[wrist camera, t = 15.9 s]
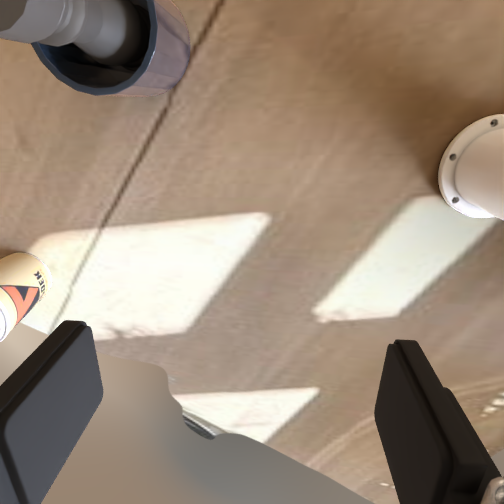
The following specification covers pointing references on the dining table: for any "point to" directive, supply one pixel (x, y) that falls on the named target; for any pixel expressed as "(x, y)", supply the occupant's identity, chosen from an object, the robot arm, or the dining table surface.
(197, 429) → the dining table surface
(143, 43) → the candle holder
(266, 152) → the dining table surface
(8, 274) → the coffee cup
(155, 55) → the dark grey mug
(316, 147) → the dining table surface
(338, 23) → the dining table surface
